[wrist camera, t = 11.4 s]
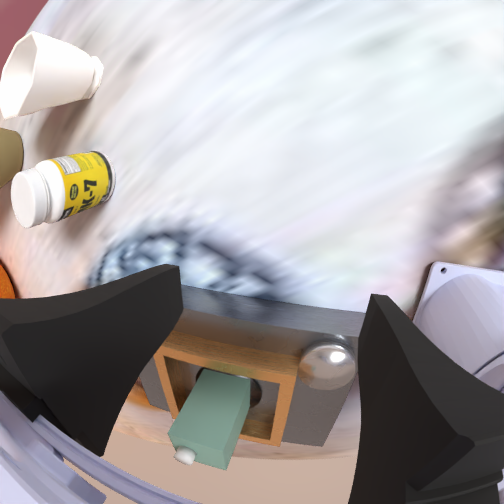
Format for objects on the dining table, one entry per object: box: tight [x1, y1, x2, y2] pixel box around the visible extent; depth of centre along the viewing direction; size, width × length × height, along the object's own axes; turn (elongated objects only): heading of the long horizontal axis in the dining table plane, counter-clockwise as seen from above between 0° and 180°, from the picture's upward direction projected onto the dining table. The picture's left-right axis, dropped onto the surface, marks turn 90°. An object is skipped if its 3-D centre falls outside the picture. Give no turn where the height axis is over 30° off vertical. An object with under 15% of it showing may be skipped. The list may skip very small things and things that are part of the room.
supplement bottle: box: [11, 151, 115, 228], centre depth 17 cm, size 5×5×8 cm
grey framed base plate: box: [139, 285, 366, 447], centre depth 22 cm, size 20×16×5 cm
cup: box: [0, 31, 103, 120], centre depth 14 cm, size 7×10×8 cm
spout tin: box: [168, 369, 250, 470], centre depth 18 cm, size 4×4×8 cm
